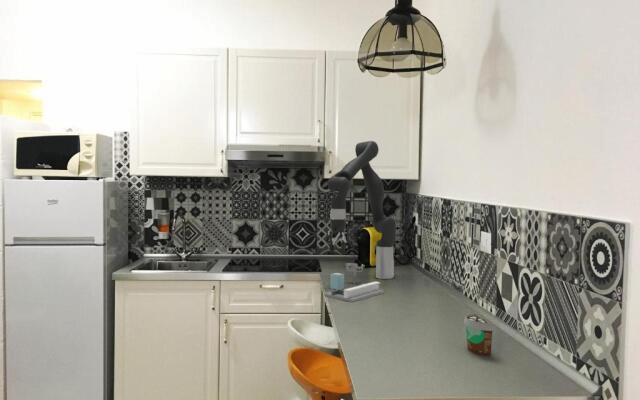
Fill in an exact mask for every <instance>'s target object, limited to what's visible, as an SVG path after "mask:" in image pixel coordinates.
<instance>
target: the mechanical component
mask: <svg viewBox="0 0 640 400" xmlns="http://www.w3.org/2000/svg"><path fill="white" fill-rule="evenodd" d="M344 268H345V271H346V272H350V273H351V276H352V284H353V285H356V283H357V275H358V273H361V272H363V271H364V269H365V264H363V263H362V264H361V266H359V265H358V263H354V262H353V263H350V262H346V263H344Z"/></svg>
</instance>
